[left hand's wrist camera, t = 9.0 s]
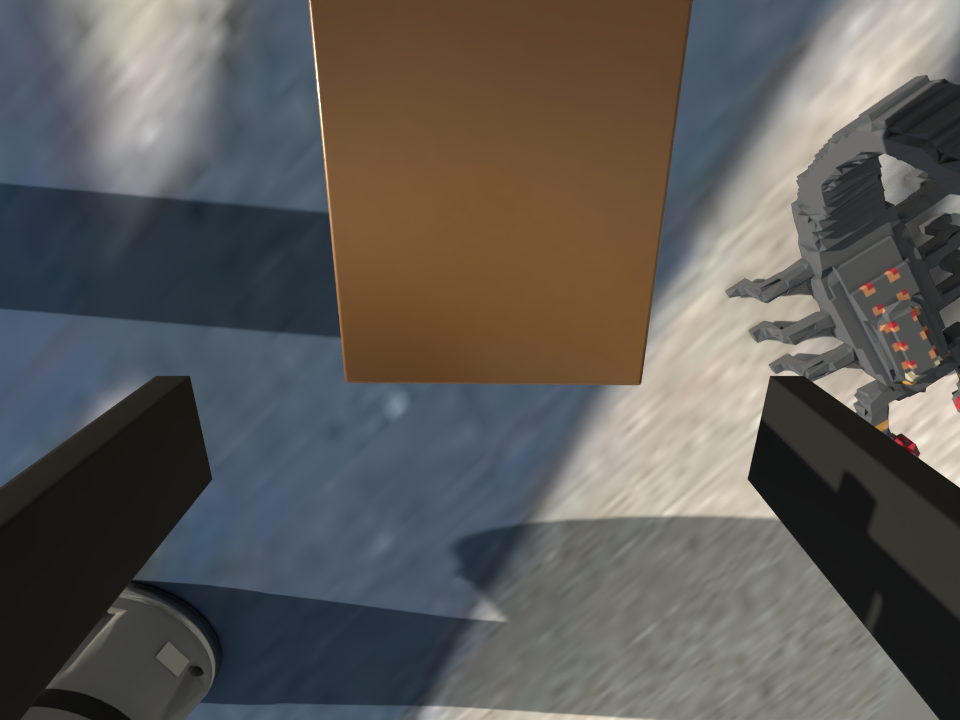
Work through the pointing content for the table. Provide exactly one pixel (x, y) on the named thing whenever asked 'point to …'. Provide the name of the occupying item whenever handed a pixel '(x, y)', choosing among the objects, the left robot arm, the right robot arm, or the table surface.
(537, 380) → the bar
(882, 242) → the toy
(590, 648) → the table surface
